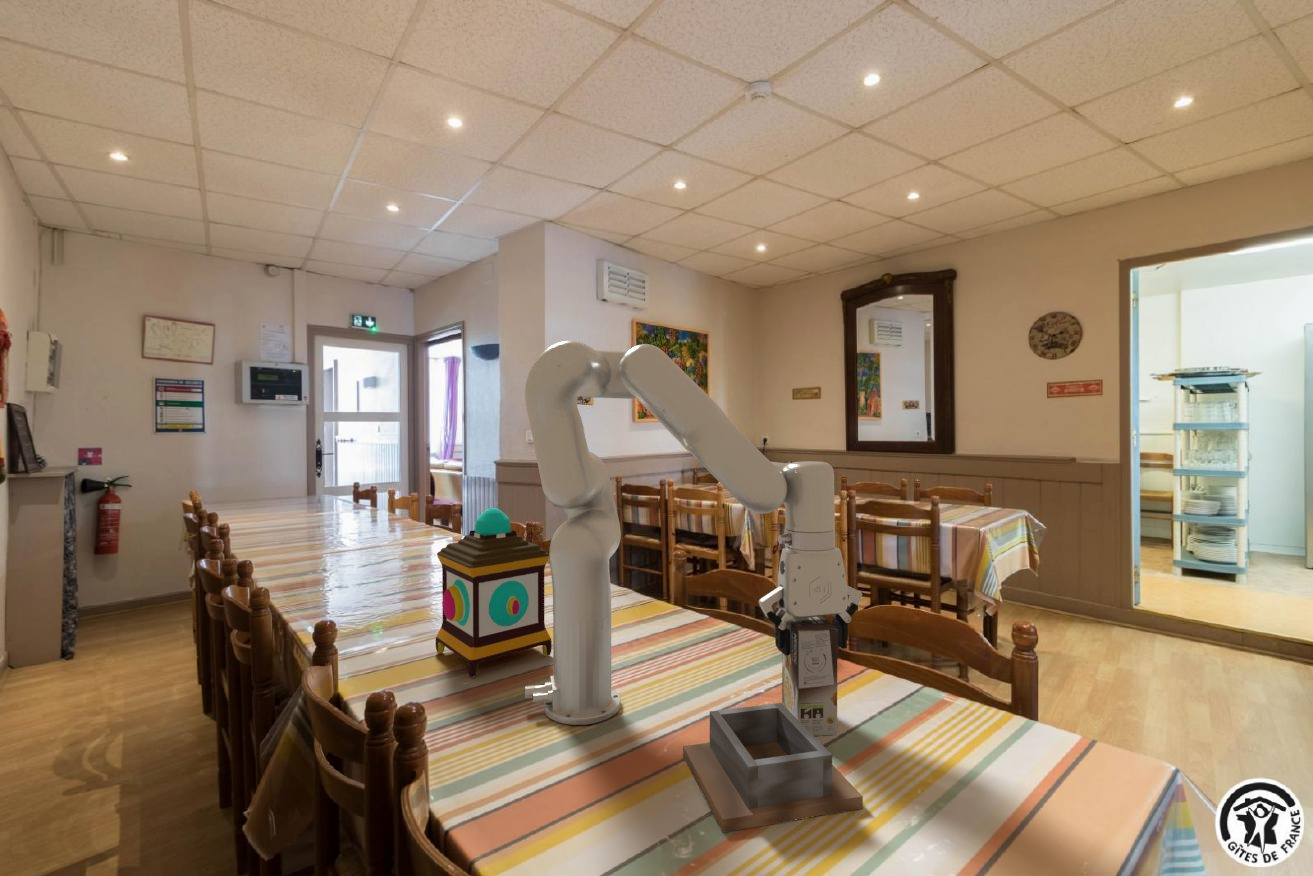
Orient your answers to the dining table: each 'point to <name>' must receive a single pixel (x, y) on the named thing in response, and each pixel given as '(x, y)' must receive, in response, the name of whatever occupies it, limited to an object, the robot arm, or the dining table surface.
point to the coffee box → (812, 674)
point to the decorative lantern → (492, 593)
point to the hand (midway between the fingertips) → (812, 648)
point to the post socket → (766, 770)
